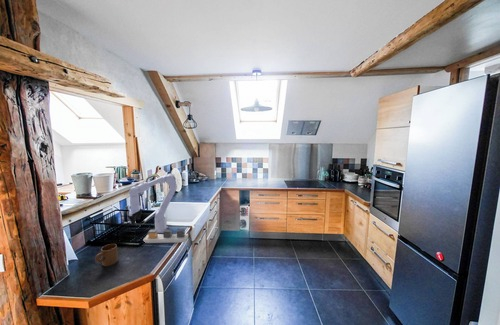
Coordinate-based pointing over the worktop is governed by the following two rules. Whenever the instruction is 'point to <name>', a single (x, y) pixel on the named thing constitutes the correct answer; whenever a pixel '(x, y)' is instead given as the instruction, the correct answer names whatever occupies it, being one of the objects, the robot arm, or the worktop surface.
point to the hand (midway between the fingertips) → (135, 221)
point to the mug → (108, 255)
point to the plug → (152, 234)
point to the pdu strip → (165, 240)
